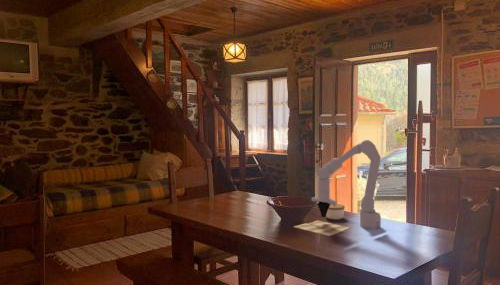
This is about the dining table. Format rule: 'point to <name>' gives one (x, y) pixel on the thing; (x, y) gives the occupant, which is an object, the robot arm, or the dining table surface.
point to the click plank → (329, 225)
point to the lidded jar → (335, 211)
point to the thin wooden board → (317, 229)
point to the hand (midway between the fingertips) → (323, 216)
